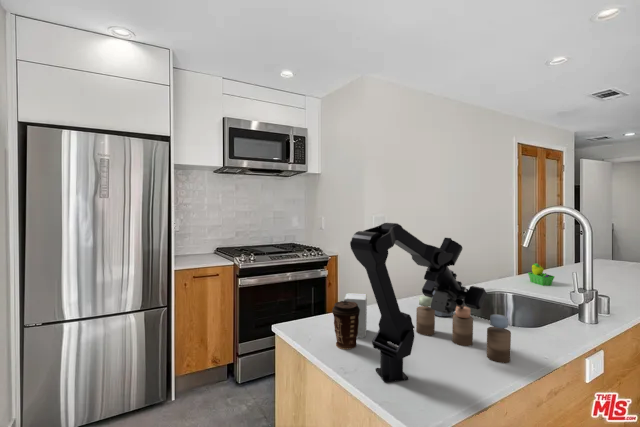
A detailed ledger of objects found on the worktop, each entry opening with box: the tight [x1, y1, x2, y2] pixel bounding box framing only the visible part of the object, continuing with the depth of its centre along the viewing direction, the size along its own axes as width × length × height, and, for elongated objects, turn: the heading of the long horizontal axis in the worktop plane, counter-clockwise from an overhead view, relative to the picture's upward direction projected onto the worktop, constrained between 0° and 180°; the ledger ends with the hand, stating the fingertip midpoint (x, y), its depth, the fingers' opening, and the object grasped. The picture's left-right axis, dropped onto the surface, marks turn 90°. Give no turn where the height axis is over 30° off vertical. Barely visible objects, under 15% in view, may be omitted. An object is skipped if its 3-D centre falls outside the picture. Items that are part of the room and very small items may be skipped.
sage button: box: [418, 295, 432, 307], centre depth 116 cm, size 4×4×2 cm
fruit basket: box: [527, 262, 555, 286], centre depth 186 cm, size 11×9×11 cm
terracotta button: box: [454, 305, 472, 318], centre depth 108 cm, size 4×4×2 cm
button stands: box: [415, 305, 512, 364], centre depth 107 cm, size 30×8×8 cm, turn 38°
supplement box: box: [343, 292, 368, 338], centre depth 115 cm, size 7×7×13 cm
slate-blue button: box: [490, 313, 509, 329], centre depth 97 cm, size 4×4×2 cm
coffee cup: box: [331, 300, 360, 351], centre depth 105 cm, size 9×8×13 cm
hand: (462, 307), depth 107 cm, fingers closed, pressing on terracotta button
